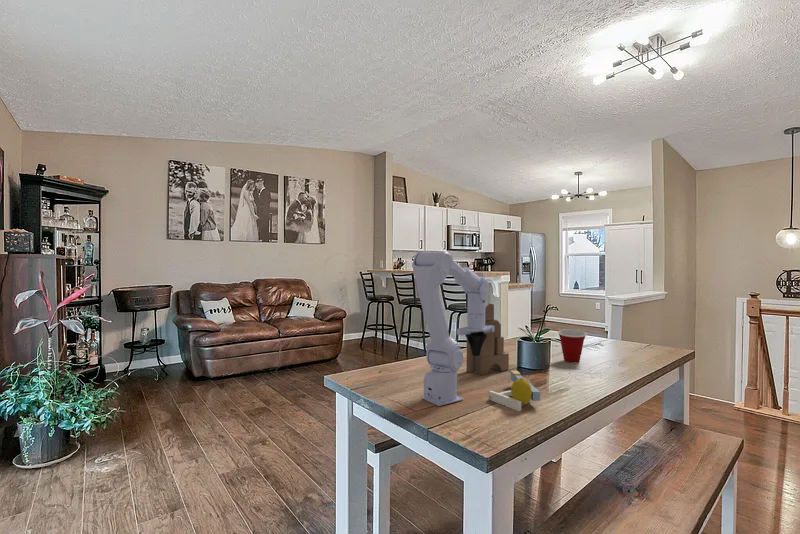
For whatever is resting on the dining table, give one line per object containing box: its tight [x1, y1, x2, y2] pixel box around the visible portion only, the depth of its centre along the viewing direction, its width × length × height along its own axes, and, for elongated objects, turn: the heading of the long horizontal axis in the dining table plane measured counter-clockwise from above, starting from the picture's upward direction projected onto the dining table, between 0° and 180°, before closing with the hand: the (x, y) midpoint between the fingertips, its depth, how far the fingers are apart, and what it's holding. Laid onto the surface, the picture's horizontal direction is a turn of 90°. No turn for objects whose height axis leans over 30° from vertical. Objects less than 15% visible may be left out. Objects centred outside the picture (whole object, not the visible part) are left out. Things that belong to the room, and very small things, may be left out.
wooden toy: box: [465, 303, 510, 376], centre depth 151 cm, size 16×7×25 cm, turn 119°
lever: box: [510, 370, 541, 402], centre depth 124 cm, size 4×20×3 cm, turn 2°
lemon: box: [510, 377, 532, 407], centre depth 115 cm, size 6×6×8 cm
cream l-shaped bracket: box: [488, 389, 522, 412], centre depth 118 cm, size 9×11×2 cm
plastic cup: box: [557, 329, 588, 363], centre depth 166 cm, size 11×11×12 cm
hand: (475, 355), depth 134 cm, fingers closed
